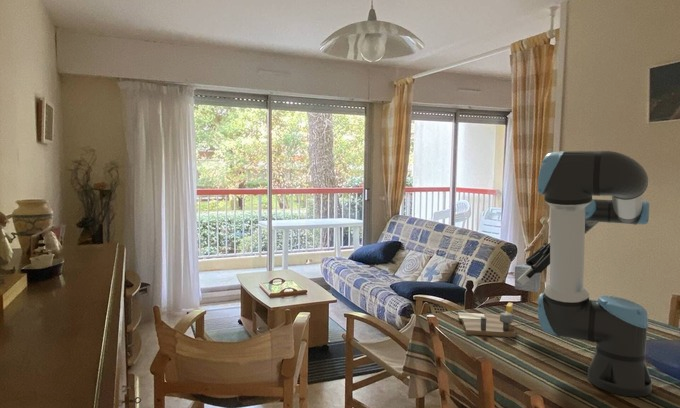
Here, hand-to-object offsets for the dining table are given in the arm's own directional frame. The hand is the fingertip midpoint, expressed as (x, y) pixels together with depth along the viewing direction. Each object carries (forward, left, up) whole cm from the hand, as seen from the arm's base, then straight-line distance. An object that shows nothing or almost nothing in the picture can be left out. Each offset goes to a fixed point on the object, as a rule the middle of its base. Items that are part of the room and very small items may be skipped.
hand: (517, 279), depth 166 cm
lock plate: (+1, +11, -19) cm, 21 cm away
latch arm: (-3, +4, -17) cm, 17 cm away
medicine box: (0, -3, -4) cm, 5 cm away
